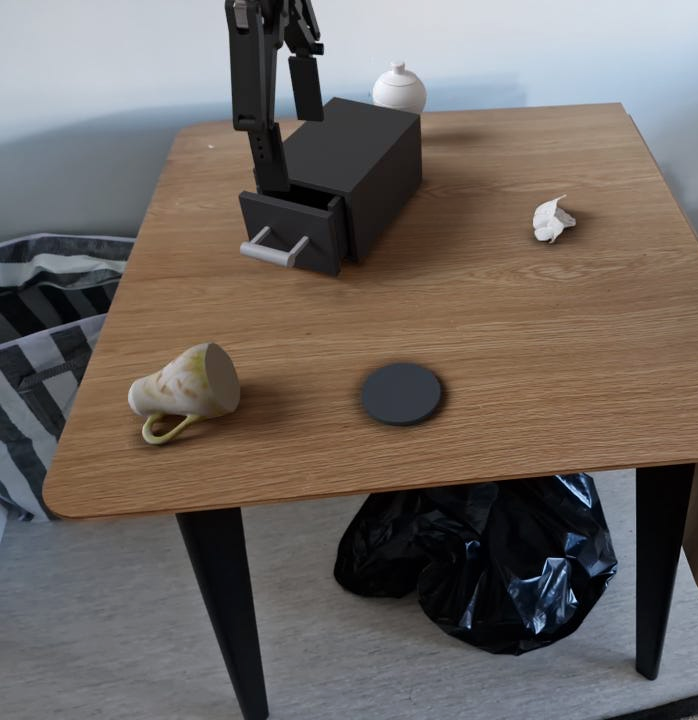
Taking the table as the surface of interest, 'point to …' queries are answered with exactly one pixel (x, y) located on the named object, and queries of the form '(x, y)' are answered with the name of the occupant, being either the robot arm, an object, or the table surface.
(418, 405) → the coaster
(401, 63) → the white rounded knobbed vessel
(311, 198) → the drawer
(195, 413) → the mug
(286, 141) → the cabinet
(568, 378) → the table surface
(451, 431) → the table surface
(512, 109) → the table surface
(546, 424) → the table surface
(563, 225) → the tissue
